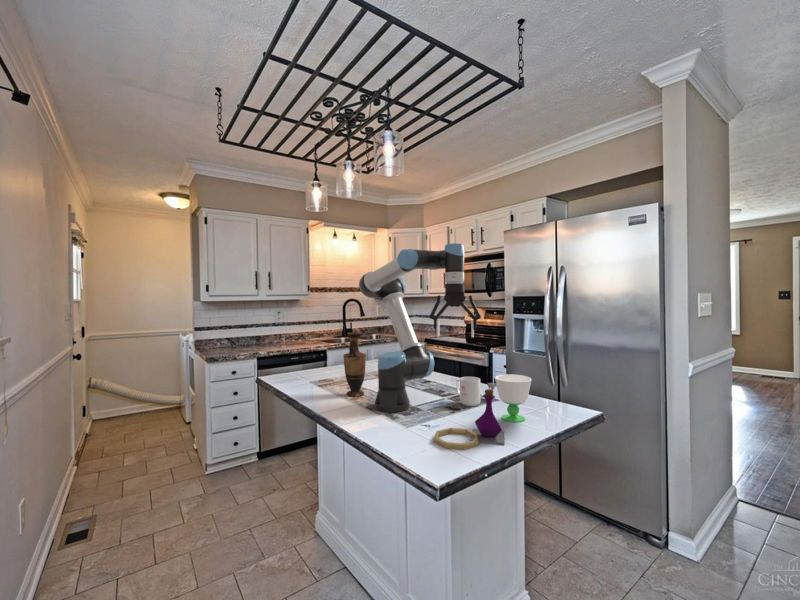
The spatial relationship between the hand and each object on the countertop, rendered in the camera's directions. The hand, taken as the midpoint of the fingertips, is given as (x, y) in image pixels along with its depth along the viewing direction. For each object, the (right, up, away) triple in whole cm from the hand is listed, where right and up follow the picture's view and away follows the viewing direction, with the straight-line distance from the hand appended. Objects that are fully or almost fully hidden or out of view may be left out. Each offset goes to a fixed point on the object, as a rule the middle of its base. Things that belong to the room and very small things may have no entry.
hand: (455, 336), depth 156 cm
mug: (+8, -31, +19) cm, 37 cm away
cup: (+22, -32, -3) cm, 39 cm away
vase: (-44, -32, +35) cm, 64 cm away
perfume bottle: (+8, -32, -22) cm, 39 cm away
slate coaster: (+8, -32, -22) cm, 40 cm away
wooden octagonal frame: (-3, -32, -24) cm, 40 cm away
